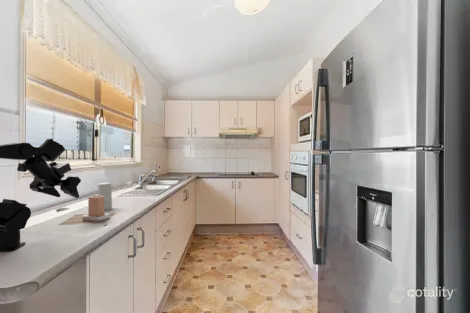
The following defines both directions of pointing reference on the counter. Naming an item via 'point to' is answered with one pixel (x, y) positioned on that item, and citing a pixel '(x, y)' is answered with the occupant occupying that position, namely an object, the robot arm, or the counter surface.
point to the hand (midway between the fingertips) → (68, 196)
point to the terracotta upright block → (96, 205)
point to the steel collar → (95, 218)
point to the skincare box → (105, 194)
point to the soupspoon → (62, 209)
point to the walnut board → (78, 220)
